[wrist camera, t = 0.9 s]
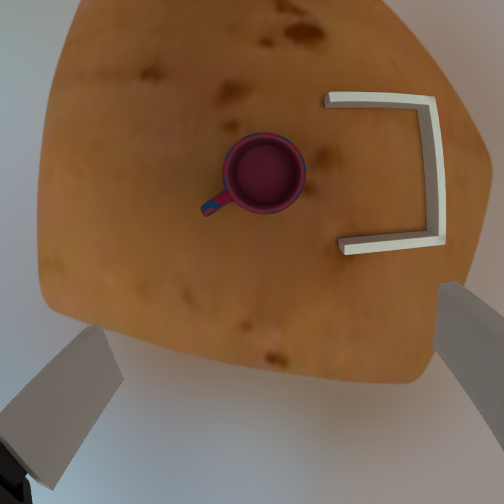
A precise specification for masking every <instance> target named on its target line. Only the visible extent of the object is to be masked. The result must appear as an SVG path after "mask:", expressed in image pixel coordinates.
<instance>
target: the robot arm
mask: <svg viewBox="0 0 504 504" xmlns="http://www.w3.org/2000/svg"><path fill="white" fill-rule="evenodd" d="M432 347H433V348H434V349H435V350H436V352H437V353H438V354H439V356H440V357H441V358H442V360H443V361H444V362H445V364H446V365H447V366H448V368H449V369H450V370H451V372H452V373H453V374H454V376H455V377H456V379H457V380H458V381H459V383H460V384H461V386H462V387H463V389H464V390H465V392H466V393H467V394H468V396H469V397H470V399H471V400H472V402H473V403H474V405H475V406H476V408H477V409H478V411H479V412H480V414H481V415H482V417H483V418H484V420H485V421H486V423H487V425H488V426H489V428H490V429H491V431H492V432H493V434H494V436H495V437H496V439H497V441H498V442H499V444H500V446H501V447H502V449H503V451H504V317H503V316H502V315H500V314H499V313H498V312H497V311H495V310H494V309H493V308H492V307H490V306H489V305H488V304H486V303H485V302H484V301H482V300H481V299H480V298H478V297H477V296H476V295H474V294H473V293H472V292H470V291H469V290H468V289H466V288H465V287H464V286H462V285H461V284H459V283H458V282H457V281H451V282H447V283H442V284H439V297H438V308H437V317H436V325H435V332H434V339H433V346H432ZM123 380H124V378H123V376H122V373H121V372H120V369H119V367H118V365H117V362H116V360H115V358H114V355H113V353H112V351H111V348H110V346H109V343H108V341H107V339H106V336H105V333H104V331H103V328H102V326H87V327H86V328H85V329H84V330H83V331H82V332H81V333H80V334H79V335H78V336H77V337H76V338H75V339H73V340H72V341H71V342H70V343H69V344H68V345H67V346H66V347H65V348H64V349H63V350H62V351H61V352H60V353H59V354H58V355H57V356H56V357H54V358H53V360H51V362H49V363H48V364H47V365H46V366H45V367H44V368H43V369H42V370H41V371H40V372H39V373H38V374H37V375H36V376H35V377H34V378H33V379H32V380H31V381H30V382H29V383H28V384H27V385H26V386H25V388H23V389H22V390H21V391H20V393H19V394H18V395H17V396H16V397H15V398H14V399H13V400H12V401H11V402H10V403H9V404H8V405H7V406H6V407H5V408H4V409H3V410H2V412H0V504H33V503H32V496H31V487H30V483H29V481H28V479H27V478H26V477H25V476H26V474H27V473H28V474H29V475H30V476H31V477H32V478H33V479H34V480H35V481H36V482H37V483H38V484H40V485H42V486H44V487H46V488H48V489H50V490H52V491H53V489H54V488H55V486H56V484H57V483H58V481H59V479H60V478H61V476H62V474H63V473H64V471H65V470H66V468H67V466H68V465H69V463H70V462H71V460H72V458H73V457H74V455H75V454H76V452H77V450H78V449H79V447H80V446H81V444H82V442H83V441H84V439H85V438H86V436H87V435H88V433H89V431H90V430H91V428H92V427H93V425H94V424H95V422H96V421H97V419H98V418H99V416H100V415H101V413H102V411H103V410H104V408H105V407H106V405H107V404H108V402H109V401H110V399H111V398H112V396H113V395H114V393H115V392H116V390H117V389H118V387H119V386H120V384H121V383H122V381H123Z"/></svg>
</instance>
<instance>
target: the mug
mask: <svg viewBox="0 0 504 504" xmlns="http://www.w3.org/2000/svg"><path fill="white" fill-rule="evenodd" d="M305 178H306V169H305V164H304V160H303V158H302V156H301V154H300V152H299V151H298V149H297V148H296V147H295V146H294V145H293V144H292V143H291V142H290V141H288V140H287V139H285V138H284V137H281V136H279V135H276V134H272V133H256V134H252V135H249V136H247V137H245V138H243V139H241V140H240V141H239V142H237V143H236V144H235V145H234V146H233V147H232V148H231V150H230V151H229V153H228V155H227V157H226V159H225V162H224V167H223V179H224V184H225V187H226V190H225V191H223V192H222V193H220V194H219V195H217V196H216V197H214V198H213V199H211V200H210V201H208V202H207V203H205V204H204V205H203V206H201V212H202V214H203V215H204V216H205V217H208V216H209V215H211V214H213V213H214V212H216V211H217V210H219V209H220V208H222V207H224V206H225V205H227V204H229V203H230V202H232V201H234V202H236V203H237V204H238V205H239V206H240V207H242V208H244V209H245V210H248V211H250V212H253V213H257V214H273V213H276V212H280V211H282V210H284V209H286V208H287V207H289V206H290V205H291V204H293V203H294V201H295V200H296V199H297V198H298V197H299V195H300V194H301V192H302V189H303V187H304V184H305Z"/></svg>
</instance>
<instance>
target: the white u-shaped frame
mask: <svg viewBox="0 0 504 504" xmlns="http://www.w3.org/2000/svg"><path fill="white" fill-rule="evenodd" d="M324 104H325V108H397V109H413V110H417V113H418V120H419V127H420V134H421V142H422V151H423V161H424V174H425V191H426V231H416V232H404V233H393V234H382V235H371V236H361V237H350V238H339V239H338V245H339V249H340V250H341V251H342V252H343V253H344V255H350V254H359V253H369V252H379V251H388V250H398V249H407V248H416V247H425V246H434V245H443V244H445V241H446V191H445V172H444V159H443V149H442V140H441V132H440V125H439V119H438V112H437V107H436V101H435V97H431V96H422V95H411V94H398V93H380V92H329V93H328V94H327V95H326V97H325V98H324Z"/></svg>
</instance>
